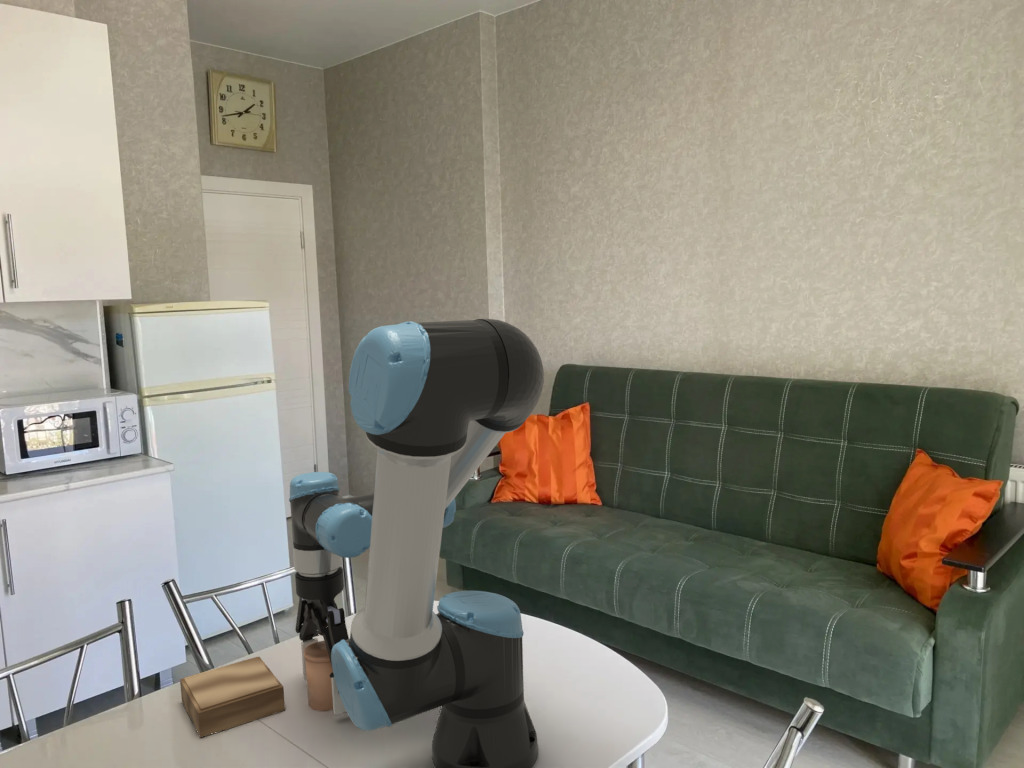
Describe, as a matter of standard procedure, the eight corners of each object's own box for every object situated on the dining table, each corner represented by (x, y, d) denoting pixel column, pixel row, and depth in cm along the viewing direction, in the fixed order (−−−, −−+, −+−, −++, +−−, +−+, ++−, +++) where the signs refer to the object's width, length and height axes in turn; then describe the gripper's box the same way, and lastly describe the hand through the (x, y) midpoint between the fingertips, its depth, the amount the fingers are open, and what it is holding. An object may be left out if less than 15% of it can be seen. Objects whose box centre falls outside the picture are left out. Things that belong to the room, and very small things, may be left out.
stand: (284, 710, 125) (283, 684, 124) (200, 738, 117) (198, 711, 117) (260, 678, 135) (259, 654, 135) (182, 702, 128) (179, 677, 128)
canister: (353, 703, 126) (350, 650, 125) (315, 716, 123) (311, 662, 122) (338, 687, 131) (335, 636, 130) (301, 699, 128) (298, 647, 127)
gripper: (372, 586, 116) (379, 719, 119) (313, 544, 137) (320, 658, 139) (325, 598, 112) (333, 736, 115) (271, 553, 132) (279, 670, 135)
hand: (326, 693), depth 127 cm, fingers open, 13 cm apart
